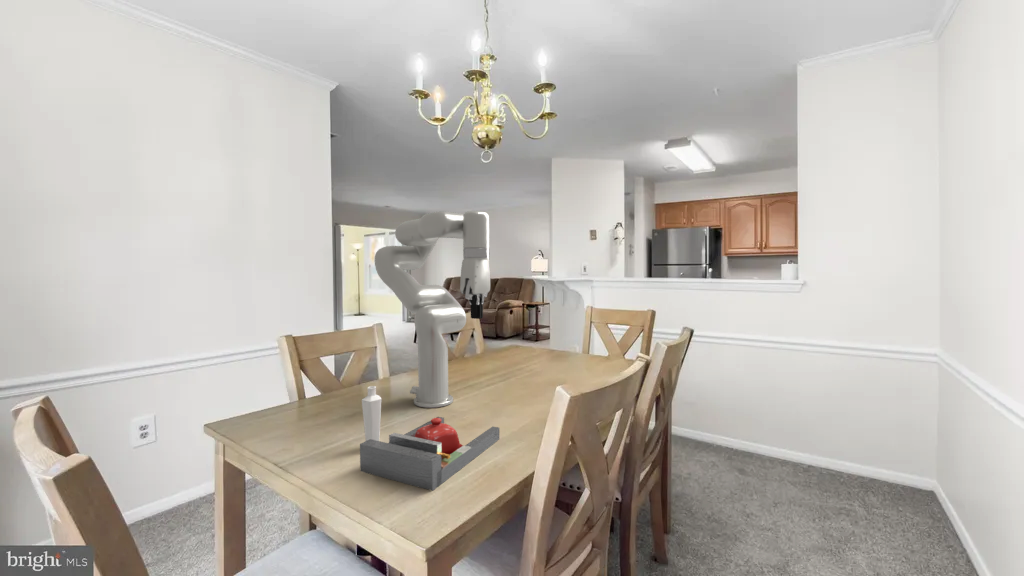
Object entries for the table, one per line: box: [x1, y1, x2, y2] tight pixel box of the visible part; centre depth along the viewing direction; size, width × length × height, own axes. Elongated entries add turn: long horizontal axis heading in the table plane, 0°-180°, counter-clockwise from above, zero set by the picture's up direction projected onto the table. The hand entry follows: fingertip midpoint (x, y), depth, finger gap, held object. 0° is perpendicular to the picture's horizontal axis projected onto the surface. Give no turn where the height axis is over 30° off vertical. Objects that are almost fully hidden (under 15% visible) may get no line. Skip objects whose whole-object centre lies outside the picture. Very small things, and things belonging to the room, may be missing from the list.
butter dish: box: [415, 417, 463, 460], centre depth 104 cm, size 12×12×8 cm
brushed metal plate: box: [388, 432, 450, 460], centre depth 96 cm, size 16×2×6 cm, turn 64°
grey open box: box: [359, 416, 500, 492], centre depth 103 cm, size 19×28×6 cm, turn 154°
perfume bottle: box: [361, 385, 382, 441], centre depth 106 cm, size 5×4×15 cm
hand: (476, 318), depth 127 cm, fingers closed
